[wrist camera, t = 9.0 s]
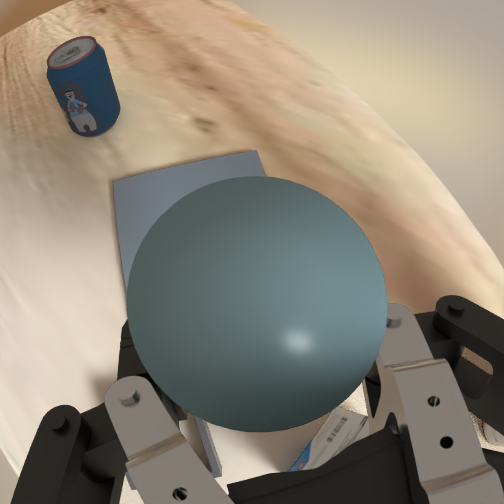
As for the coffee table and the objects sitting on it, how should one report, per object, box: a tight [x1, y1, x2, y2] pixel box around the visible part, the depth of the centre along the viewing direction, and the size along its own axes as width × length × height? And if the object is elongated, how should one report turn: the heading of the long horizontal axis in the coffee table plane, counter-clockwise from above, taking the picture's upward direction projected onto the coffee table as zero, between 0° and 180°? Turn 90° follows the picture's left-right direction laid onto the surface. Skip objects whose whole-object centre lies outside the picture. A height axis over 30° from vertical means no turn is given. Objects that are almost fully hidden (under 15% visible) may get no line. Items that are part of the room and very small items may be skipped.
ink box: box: [289, 406, 369, 472], centre depth 19 cm, size 8×5×12 cm, turn 144°
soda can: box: [47, 36, 120, 137], centre depth 29 cm, size 7×7×12 cm
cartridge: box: [127, 176, 387, 432], centre depth 10 cm, size 5×5×10 cm
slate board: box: [113, 150, 266, 292], centre depth 31 cm, size 16×16×1 cm
